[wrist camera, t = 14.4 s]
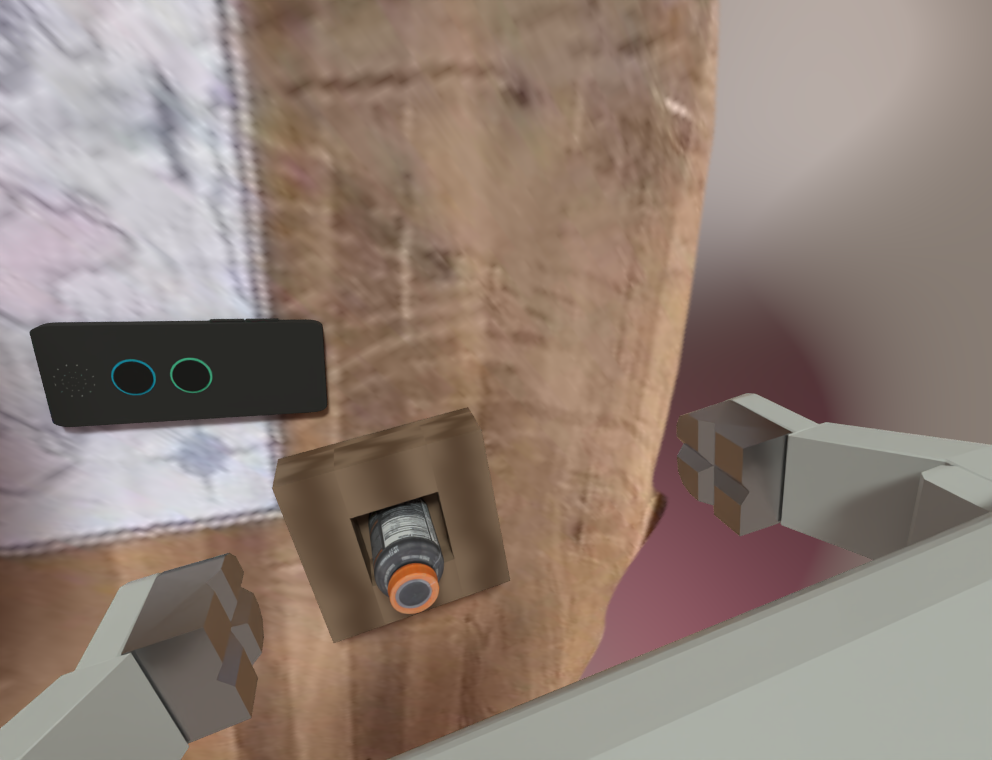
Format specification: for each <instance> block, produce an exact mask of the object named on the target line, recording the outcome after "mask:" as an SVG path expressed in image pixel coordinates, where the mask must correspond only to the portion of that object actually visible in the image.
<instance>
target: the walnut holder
mask: <svg viewBox="0 0 992 760" xmlns="http://www.w3.org/2000/svg"><path fill="white" fill-rule="evenodd" d="M272 489H273V492H274V494H275V497H276V499H277V502H278V504H279V507H280V509H281V512H282V514H283V517H284V520H285V522H286V525H287V527H288V530H289V532H290V535H291V537H292V540H293V542H294V545H295V547H296V550H297V552H298V555H299V557H300V560H301V562H302V565H303V567H304V570H305V572H306V575H307V577H308V580H309V582H310V585H311V587H312V590H313V592H314V595H315V598H316V600H317V603H318V605H319V608H320V610H321V613H322V615H323V618H324V620H325V623H326V625H327V628H328V630H329V633H330V635H331V638H332V640H333V643H336V642H339V641H341V640H344V639H347V638H350V637H353V636H356V635H358V634H361V633H364V632H367V631H370V630H372V629H375V628H378V627H381V626H384V625H387V624H389V623H392V622H395V621H398V620H401V619H404V618H406V617H409V616H412V615H415V614H418V613H414V614H405V613H401V612H399V611H397V610H396V609H394V608H393V606H392V605H391V602H390V599H389V597H388V596H386V595H385V594H383V593H382V592H381V591H380V589H379V588H378V586H377V584H376V582H375V577H374V568H373V560H372V551H371V542H370V534H369V527H368V517H369V513H370V512H373V511H376V510H380V509H383V508H386V507H389V506H393V505H396V504H399V503H403V502H406V501H409V500H412V499H416V498H419V497H422V498H423V499H424V501H425V502H426V504H427V506H428V509H429V513H430V516H431V519H432V522H433V525H434V528H435V532H436V535H437V538H438V541H439V544H440V547H441V551H442V555H443V558H444V571H443V574H442V577H441V579H440V581H439V582H438V584H439V594H438V597H437V599H436V601H435V602H434V603H433V604H432V605H431V606H430V607H429V608H427V609H425V610H424V611H426V610H429V609H432V608H435V607H437V606H440V605H443V604H446V603H449V602H452V601H454V600H457V599H460V598H463V597H466V596H469V595H471V594H474V593H477V592H480V591H483V590H486V589H488V588H491V587H494V586H497V585H500V584H502V583H505V582H508V581H510V577H509V571H508V566H507V561H506V556H505V550H504V545H503V540H502V535H501V529H500V524H499V519H498V514H497V509H496V503H495V498H494V493H493V488H492V482H491V477H490V472H489V467H488V461H487V456H486V451H485V446H484V440H483V435H482V430H481V428H480V426H479V424H478V423H477V421H476V420H475V418H474V416H473V415H472V413H471V411H470V410H469V408H468V407H467V408H464V409H460V410H457V411H453V412H449V413H446V414H442V415H438V416H435V417H431V418H427V419H424V420H420V421H416V422H413V423H409V424H405V425H402V426H398V427H394V428H391V429H387V430H383V431H380V432H376V433H372V434H369V435H365V436H362V437H358V438H354V439H351V440H347V441H343V442H340V443H336V444H332V445H329V446H325V447H321V448H318V449H314V450H310V451H307V452H303V453H299V454H296V455H292V456H288V457H285V458H281V459H278V463H277V467H276V472H275V477H274V482H273V487H272ZM421 612H423V611H421ZM421 612H419V613H421Z"/></svg>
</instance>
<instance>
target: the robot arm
mask: <svg viewBox="0 0 992 760" xmlns="http://www.w3.org/2000/svg"><path fill="white" fill-rule="evenodd" d="M677 437H678V438H679V439H680V440H681V441H682V442H683V443H684V444H683V446H682V448H681V450H680V452H679V454H678V455H677V462H678V472H679V475H680V477H681V480H682V482H683V485H684V486H685V487H686V489H687V490H688V492H689V493H690V494H691V495H692V496H693V497H695V498H696V499H697V500H698V501H700V502H704V503H708V504H711V505H713V506H714V515H715V516H716V517H718V518H719V519H720V520H721V521H722V522H724V523H725V524H726V525H727V526H728V527H730V528H731V529H732V530H733V531H734V532H735V533H737V534H738V535H739V536H742V535H745V534H748V533H751V532H754V531H757V530H760V529H763V528H766V527H769V526H772V525H775V524H778V523H781V525H783V526H786V527H788V528H791V529H794V530H796V531H799V532H802V533H804V534H807V535H810V536H812V537H815V538H817V539H820V540H823V541H825V542H828V543H831V544H833V545H836V546H838V547H841V548H844V549H846V550H849V551H852V552H854V553H857V554H860V555H862V556H865V557H867V558H870V559H873V561H870V562H868V563H865V564H863V565H860V566H858V567H856V568H854V569H851V570H849V571H846V572H843V573H841V574H839V575H836V576H834V577H831V578H829V579H826V580H824V581H822V582H819V583H817V584H814V585H812V586H809V587H807V588H804V589H802V590H799V591H797V592H794V593H792V594H790V595H787V596H785V597H782V598H780V599H777V600H775V601H772V602H770V603H768V604H765V605H763V606H760V607H758V608H756V609H753V610H750V611H748V612H746V613H743V614H741V615H738V616H736V617H733V618H731V619H728V620H726V621H723V622H721V623H718V624H716V625H714V626H711V627H709V628H706V629H704V630H701V631H699V632H696V633H694V634H691V635H689V636H687V637H684V638H682V639H679V640H677V641H674V642H672V643H669V644H667V645H665V646H662V647H660V648H657V649H655V650H653V651H650V652H648V653H645V654H643V655H640V656H638V657H635V658H633V659H630V660H628V661H626V662H623V663H621V664H618V665H616V666H614V667H611V668H609V669H606V670H604V671H601V672H599V673H596V674H594V675H592V676H589V677H587V678H584V679H582V680H579V681H577V682H574V683H572V684H570V685H567V686H565V687H562V688H560V689H557V690H555V691H553V692H550V693H548V694H545V695H543V696H540V697H538V698H535V699H533V700H531V701H528V702H526V703H523V704H521V705H518V706H516V707H514V708H511V709H509V710H506V711H504V712H501V713H499V714H497V715H494V716H492V717H489V718H487V719H484V720H482V721H479V722H477V723H475V724H472V725H470V726H467V727H465V728H462V729H460V730H458V731H455V732H453V733H450V734H448V735H445V736H443V737H440V738H438V739H436V740H433V741H431V742H428V743H426V744H423V745H421V746H419V747H416V748H414V749H411V750H409V751H406V752H404V753H401V754H399V755H397V756H394V757H392V758H389V759H387V760H992V445H989V444H981V443H974V442H965V441H959V440H952V439H945V438H937V437H930V436H923V435H915V434H908V433H901V432H893V431H886V430H878V429H870V428H864V427H856V426H848V425H842V424H834V423H827V422H826V423H823V424H817V423H815V422H813V421H811V420H809V419H806V418H804V417H802V416H800V415H798V414H796V413H794V412H792V411H790V410H788V409H786V408H784V407H781V406H779V405H777V404H775V403H773V402H771V401H769V400H767V399H765V398H763V397H761V396H759V395H757V394H749V393H747V394H744V395H741V396H738V397H735V398H732V399H729V400H727V401H724V402H721V403H718V404H715V405H712V406H709V407H706V408H704V409H700V410H697V411H694V412H691V413H688V414H685V415H682V416H679V419H678V422H677ZM243 575H244V571H243V569H242V567H241V565H240V564H239V562H238V560H237V558H236V556H234V555H232V554H231V553H227V554H224V555H220V556H217V557H213V558H210V559H206V560H203V561H199V562H196V563H192V564H189V565H185V566H182V567H178V568H175V569H171V570H168V571H164V572H163V573H157V574H154V575H150V576H147V577H144V578H141V579H138V580H135V581H131V582H128V583H127V584H125V585H123V586H122V587H120V589H119V590H118V592H117V594H116V596H115V598H114V599H113V601H112V603H111V605H110V607H109V609H108V610H107V612H106V614H105V616H104V618H103V620H102V621H101V623H100V625H99V627H98V629H97V631H96V632H95V634H94V636H93V638H92V640H91V642H90V644H89V645H88V647H87V649H86V651H85V653H84V655H83V656H82V658H81V660H80V662H79V664H78V666H77V667H76V669H75V671H74V672H71V673H68V674H65V675H62V676H61V677H59V678H58V679H57V680H56V681H55V682H54V683H53V684H51V685H50V686H49V687H48V688H47V689H46V690H44V691H43V692H42V693H41V694H40V695H39V696H37V697H36V698H35V699H34V700H33V701H32V702H31V703H29V704H28V705H27V706H26V707H25V708H24V709H22V710H21V711H20V712H19V713H18V714H17V715H16V716H14V717H13V718H12V719H11V720H10V721H9V722H7V723H6V724H5V725H4V726H3V727H2V728H1V729H0V760H181V758H182V757H183V755H184V754H185V752H186V751H187V749H188V748H189V745H188V743H191V742H193V741H196V740H198V739H200V738H203V737H205V736H208V735H210V734H213V733H215V732H218V731H220V730H223V729H225V728H228V727H230V726H233V725H235V724H238V723H240V722H243V721H245V720H248V719H250V718H252V712H253V705H254V699H255V693H256V687H257V681H258V677H257V675H256V673H255V671H254V668H253V666H252V665H253V664H254V662H255V661H256V660H257V659H258V657H259V656H260V655H261V653H262V648H263V640H264V632H263V619H262V615H261V611H260V608H259V604H258V602H257V600H256V597H255V595H254V593H252V592H250V591H248V590H246V589H244V588H242V587H241V583H242V579H243Z"/></svg>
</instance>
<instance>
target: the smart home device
mask: <svg viewBox="0 0 992 760" xmlns="http://www.w3.org/2000/svg"><path fill="white" fill-rule="evenodd" d="M30 336H31V340H32V344H33V348H34V352H35V356H36V360H37V363H38V367H39V371H40V375H41V379H42V383H43V387H44V391H45V394H46V398H47V402H48V406H49V410H50V414H51V418H52V421H53V423H54V424H56V425H58V426H64V427H77V426H94V425H110V424H127V423H143V422H159V421H176V420H192V419H209V418H225V417H242V416H258V415H274V414H291V413H307V412H317V411H321V410H324V409H325V408H326V407H327V394H326V378H325V361H324V345H323V328H322V324H321V323H320V322H318V321H315V320H278V319H246V320H244V319H210V320H209V321H143V322H58V323H47V324H43V325H40V326H38V327H36V328H34V329H32V330H31V331H30Z"/></svg>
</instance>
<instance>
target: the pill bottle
mask: <svg viewBox="0 0 992 760" xmlns="http://www.w3.org/2000/svg"><path fill="white" fill-rule="evenodd" d="M368 527H369V534H370V542H371V551H372V560H373V568H374V577H375V582H376V584H377V586H378V588H379V589H380V591H381V592H382V593H383V594H385V595H386V596H388V597H389V599H390V602H391V605H392V606H393V608H394V609H396V610H397V611H399V612H401V613H405V614H414V613H419V612H421V611H424V610H425V609H427V608H429V607H430V606H431V605H432V604H433V603H434V602H435V601H436V599H437V597H438V594H439V584H438V582H439V581H440V579H441V577H442V574H443V571H444V558H443V555H442V551H441V547H440V544H439V541H438V538H437V535H436V532H435V528H434V525H433V522H432V519H431V516H430V513H429V509H428V506H427V504H426V502H425V501H424V499H423V498H422V497H419V498H416V499H412V500H409V501H406V502H403V503H399V504H396V505H393V506H389V507H386V508H383V509H380V510H376V511H373V512H370V513H369V517H368Z"/></svg>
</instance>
